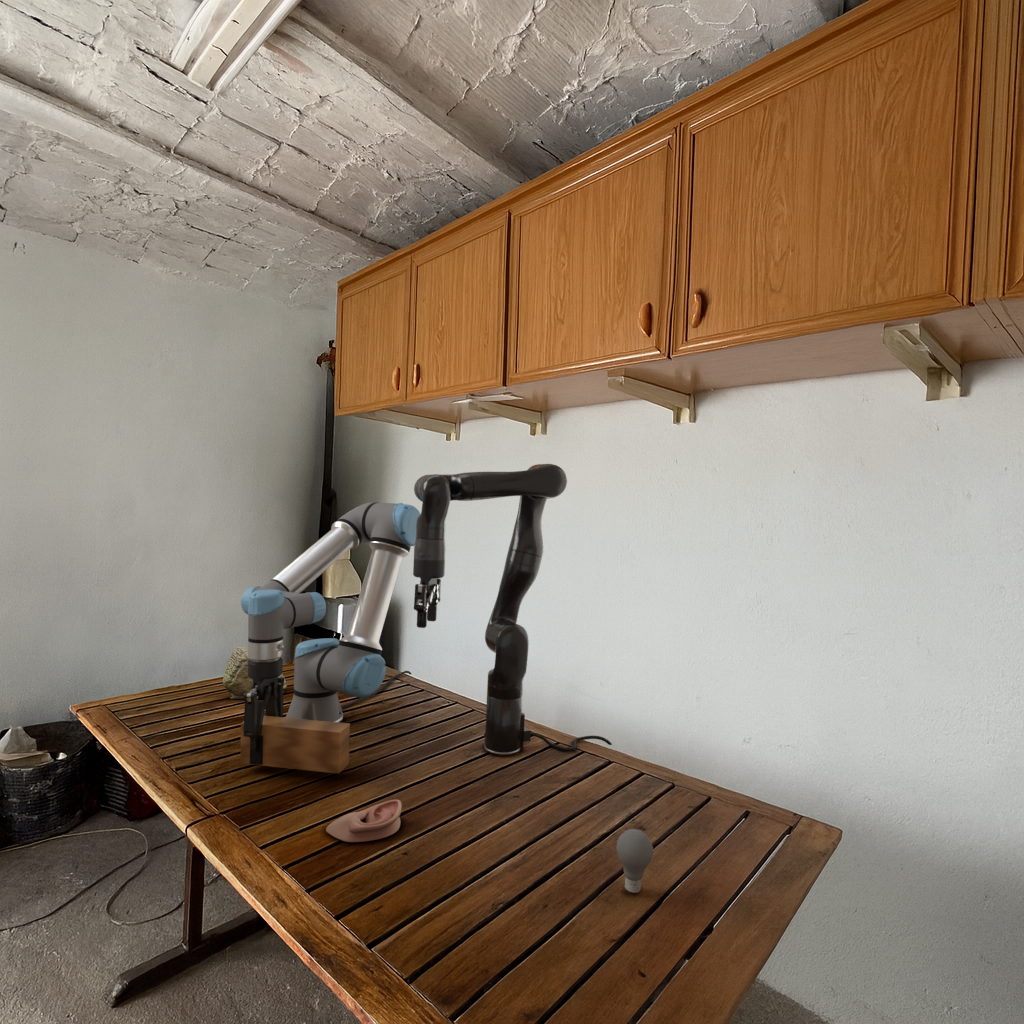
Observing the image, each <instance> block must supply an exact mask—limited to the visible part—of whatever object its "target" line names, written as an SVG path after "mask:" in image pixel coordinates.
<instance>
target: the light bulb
mask: <svg viewBox="0 0 1024 1024" xmlns="http://www.w3.org/2000/svg"><path fill="white" fill-rule="evenodd" d="M615 849H616V854H617V857H618V859H619V861H620V863H621V865H622V867H623V873H624V874H623V875H624V876H625V878H624V888H625V890H627V891H628V892H630V893H634V894H635V893H639V892H640V891H641V889H642V887H641V886H642V879H643V877H644V875H645V871H646V868H647V867H648V866H649V864H650V863H651V861H652V859H653V855H654V847H653V843H652V841H651V838H649V836H648V835H647V834H646V833H645V832H643V831H642V830H641V829H636V828H629V829H627V830H625V831H623V832H622V833H621V834H620V835H619V837H618V839H617V841H616V847H615Z"/></svg>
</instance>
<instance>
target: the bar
mask: <svg viewBox="0 0 1024 1024" xmlns="http://www.w3.org/2000/svg"><path fill="white" fill-rule="evenodd" d="M243 734H244V720H243V721H242V722H240V758H239V763H240V764H244V765H253V766H257V765H256V764H250V737H245V736H244V735H243ZM350 734H351V723H347V722H342V723H339V722H328V721H317V720H307V719H296V718H286V716H285V717H284V716H283V717H274V716H266V715H264V717H263V723H262V730H261V735H263V764H261V765H260V766H264V767H271V768H280V769H281V768H282V769H290V770H299V771H300V770H301V771H309V772H310V771H311V772H318V773H319V772H320V773H329V774H338V775H339V774H340V773H341V772H343V770H345V769H346V767H347V766H348V765H349V764H350V738H351V737H350V736H351V735H350Z"/></svg>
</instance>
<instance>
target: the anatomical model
mask: <svg viewBox="0 0 1024 1024" xmlns="http://www.w3.org/2000/svg"><path fill="white" fill-rule="evenodd" d="M402 808H403V804H402V802H401V800H399V799H391V800H387V801H383V802H380V803H377V804H374V805H372V806H370V807H367V808H365V809H362V810H360V811H353V812H350V813H347V814H344V815H342V816H340V817H338V818H337V819H335V820H333V821H332V822H330V823H329V825H327V826H326V828H325V832H326V833H327V834H329V835H330V836H332V837H333V838H335V839H338V840H340V841H342V842H345V843H360V842H361V843H363V842H371V841H375V840H381V839H384V838H387V837H389V836H392V835H394V834H395V833H397V832H398V831H399V829H400V827H401V824H402V823H401V817H400V816H401V813H402Z"/></svg>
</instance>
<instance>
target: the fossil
mask: <svg viewBox="0 0 1024 1024" xmlns="http://www.w3.org/2000/svg"><path fill="white" fill-rule="evenodd" d="M248 661H249V658H248V646H246V647H245V646H238V647H237V648H236V649H235V650H233V651H232V653H231V656H230V657H229V659H228V660H227V663H226V666H225V668H224V671H223V675H222V676H223V677H222V685H223V687H224V688H225V690H226V691H228V693H229V698H230V699H244V693H249V692H250V691H251V686H252V682H253V680H252V679H251V678H250V677H249V676H248V674H247V670H248ZM278 677H284V685H283V693H285V691H286V689H287V687H288V686H287V680H286V678H285V676H284V674H283V673H282V674H281V675H280V676H278Z"/></svg>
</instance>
